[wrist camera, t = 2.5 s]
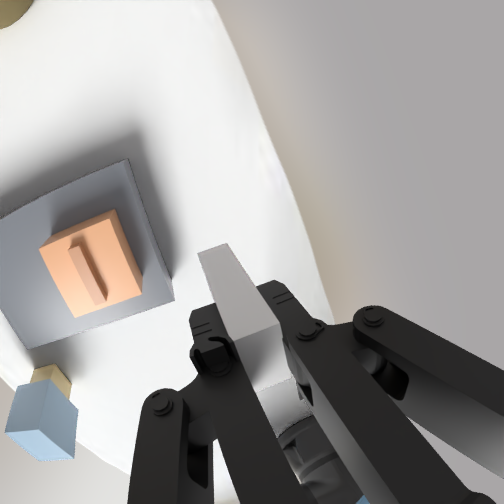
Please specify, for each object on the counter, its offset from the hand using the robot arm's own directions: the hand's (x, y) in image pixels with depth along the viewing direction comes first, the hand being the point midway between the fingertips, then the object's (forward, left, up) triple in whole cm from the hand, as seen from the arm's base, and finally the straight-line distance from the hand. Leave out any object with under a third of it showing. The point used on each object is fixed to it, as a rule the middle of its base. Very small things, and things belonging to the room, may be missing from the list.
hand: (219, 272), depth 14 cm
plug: (-14, +25, -14) cm, 32 cm away
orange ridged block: (0, +9, -10) cm, 14 cm away
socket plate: (0, +13, -14) cm, 19 cm away
